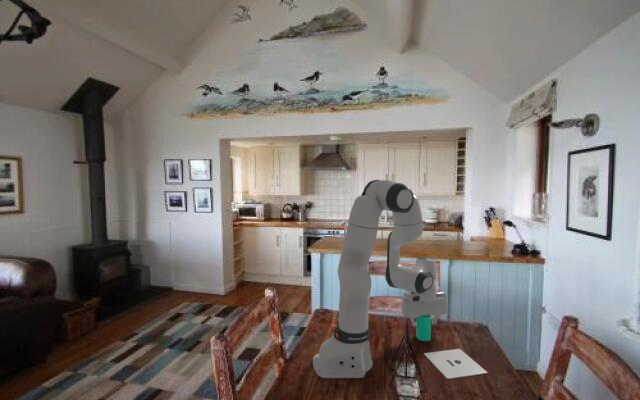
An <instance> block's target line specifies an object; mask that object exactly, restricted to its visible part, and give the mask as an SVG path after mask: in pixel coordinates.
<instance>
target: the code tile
mask: <svg viewBox="0 0 640 400" xmlns="http://www.w3.org/2000/svg"><path fill="white" fill-rule="evenodd" d="M423 355H424V356H425V357H426V358H427V359H428V360H429V361H430V363H432V365H433V366H434V367H435V368H436V369H437V370H438V371H439V372H440V373H441V374H442V376H444V377H445V379H446V380H451V379H459V378H460V379H461V378H466V377H472V376H480V375H485V374H488V373H489V372H488V371H486V370H485V369H484V368H483V367H482V366H481V365H480V364H479V363H477V362H476V361H474V360H473V359H472V358H471V357H470V356H469V355H468V354H467V353H465V352H464V351H463V350H462V349H461V348H455V349H447V350H440V351H439V350H437V351H431V352H423Z"/></svg>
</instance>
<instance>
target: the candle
mask: <svg viewBox="0 0 640 400" xmlns="http://www.w3.org/2000/svg"><path fill="white" fill-rule="evenodd" d="M415 321H416V322H417V326H415V328H416V332H415V336H416V338H417V340H419V341H422V342H428V341H431V336H432V335H431V334H432V331H431V329H432V327H431V326H432V315H430V316H421V317H416V320H415Z"/></svg>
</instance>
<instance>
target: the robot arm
mask: <svg viewBox="0 0 640 400" xmlns="http://www.w3.org/2000/svg"><path fill="white" fill-rule="evenodd" d="M384 211H387V212H388V211H389V212H392V219H393V221H392V222H393V229H392V231H390V232H389V234H388V238H387V246H386V247H387V248H386V249H387V250H386V254H387V255H386V267H385V268H386V269H385V273H384V278H385V282H386V283H387V285H388V287H390V288H395V289H399V290H400V289H401V290H403V291H405V292H403V297H404V298H403V299H402V302H401V315H402V316H403V317H404V318H407V319H410V321H411V326H412V327H415V328H416V326H417V322H416V320H415V319H416V318H417V317H421V316H430V315H431V316H434V317H433V318H431V325H437V324H438V320H439V318H440V316H441V315H447V313H448V304H447V303H448V302H447V298H448V297H447V294H446V293H444V292H437V291H436V290H437V287H436V279H437V267H436V261H435V260H434V259H432V258H429V257H424V256H417V257H416V260H415V265H414V266H413V267H409V266H405V265H402V263H401V262H400V260H401V258H400V257H401V256H400V255H401V247H402V246H404V245H409V244H411V243H413V242H416V241H418V239H419V238H421V236H422V234H423V232H424V223H423V215H422V209H421V206H420V201H419V199H418V197H417V196H416V195H414V192H413V191H412V188H410V187H409V186H408V185H406V184H404V183H403V182H402V183H401V182H395V181H392V180H386V179H373V180H371V181H368V183H367V184H365V186H364V188H363V190H362V193H361V195H360V196H357V197H356V198H355V199H354V201H353V204H352V207H351V210H350V213H349V217H348V223H347V228H346V232H345V239H344V244H343V247H342V250H341V253H340V258H339V262H338V267H337V275H338V280H339V299H338V300H339V301H338V324H337V326H336V325H335V323H334V324H333V323H332V324H331V325H330V328H329V329H330V330H331V332H333V335H331V337H329V338H328V339H327V340H325V341H324V342H322V343H321V345H320V347H319V351H318V353H316V354H315V355H314V356H313V357H312V366H313V370H314V372H315V374H316V375H318V377H320V378H322V379H361V378H364V377H365V375H366V373H367V372H368V371H370V370H371V369H372V368H373V363H374V362H373V360H372V355H371V350H370V336H371V332H370V326H369V304H370V298H371V291H372V278H371V275H370V273H369V271H368V266H369V262H370V258H371V257H372V253H373V252H374V249H375V246H376V240H377V237H378V236H377V234H378V230H379V229H378V228H379V224H380V217H381V215H382V213H383V212H384Z"/></svg>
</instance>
